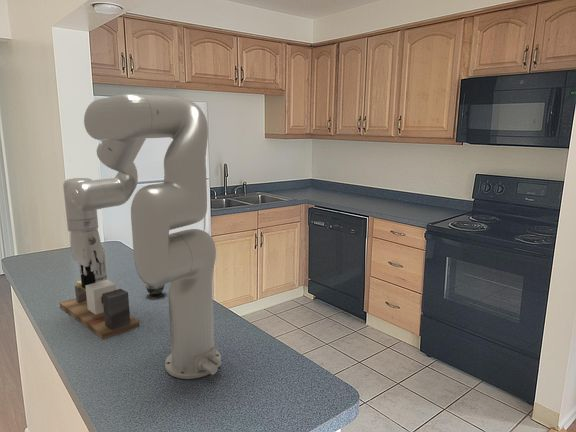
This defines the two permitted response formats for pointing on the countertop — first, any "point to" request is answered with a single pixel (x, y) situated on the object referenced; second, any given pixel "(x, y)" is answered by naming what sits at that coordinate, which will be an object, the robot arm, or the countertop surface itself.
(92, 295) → the cream matte cube
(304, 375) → the countertop surface
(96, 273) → the energy drink can
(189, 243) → the robot arm
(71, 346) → the countertop surface
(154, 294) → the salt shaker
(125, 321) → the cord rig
